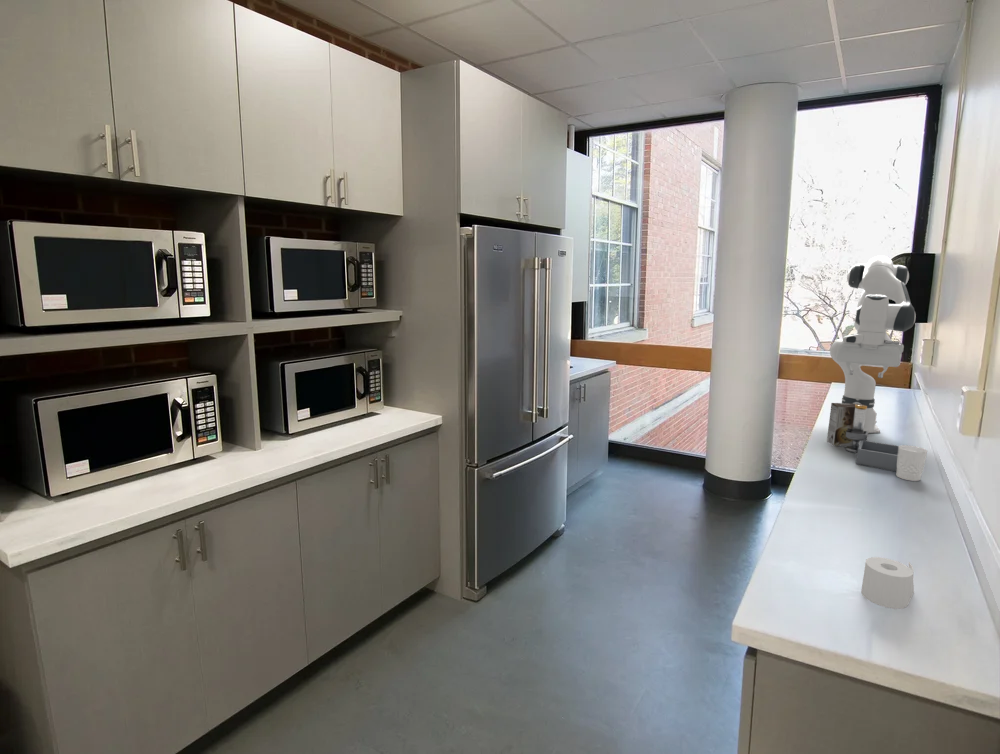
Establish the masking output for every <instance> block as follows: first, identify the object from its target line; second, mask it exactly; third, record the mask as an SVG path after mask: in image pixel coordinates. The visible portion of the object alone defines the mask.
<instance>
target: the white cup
mask: <svg viewBox="0 0 1000 754" xmlns="http://www.w3.org/2000/svg"><path fill="white" fill-rule="evenodd" d="M897 446H898V455H897V471H895V472H896V473H895V477H897V478H899V479H902V480H907V481H913V482H918V481H921V479H922V474H923V471H924V468H925V464H926V460H927V455H928V450H927V449H925V448H923V447H919V446H915V445H907V444H906V445H905V444H903V445H901V444H900V445H897Z"/></svg>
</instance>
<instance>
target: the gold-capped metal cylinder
mask: <svg viewBox="0 0 1000 754" xmlns="http://www.w3.org/2000/svg"><path fill="white" fill-rule="evenodd" d="M866 409H867V406H866V405H861V404H856V405H855V413H854V420H853V427H852V430H851V432H852V433H859V434H864V432H863V429H864V422H865V415H866Z"/></svg>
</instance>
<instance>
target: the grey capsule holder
mask: <svg viewBox="0 0 1000 754" xmlns="http://www.w3.org/2000/svg"><path fill="white" fill-rule="evenodd" d="M851 430H852V429H849V428H848V429H847V431H846V437H847V438H848V439H852V446H847V447H846V446H845V451H846V452H848V453H852V454H857V453H858V448H859V445H860V442H861V440H865V441H868V437H869V433H868V432H869V431H863V432H864V434H859V433H852V432H851Z"/></svg>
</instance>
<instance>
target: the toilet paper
mask: <svg viewBox="0 0 1000 754" xmlns="http://www.w3.org/2000/svg"><path fill="white" fill-rule="evenodd" d="M864 564H865V565H864V570H863V577H862V584H861V591H860V593H861V595H862V596H863V597H864V598H865V599H866V600H867V601H869V602H871V603H872V604H875V605H877V606H881V607H884V608H888V609H894V610H898V609H899V610H902V609H905V608H907V607H908V606H909V603H910V602H911V599H912V597H913V595H914V594H915V593H914V592H915V590H914V589H915V588H914V586H915V585H914V572H915V569H914V567H913V564H911V562H910V561H908V566H907V565H906V564H904V563H902V562H901V561H897V560H894V559H891V558H886V557H882V556H881V557H879V556H871V557H868V558H867V559H865V563H864Z"/></svg>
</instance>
